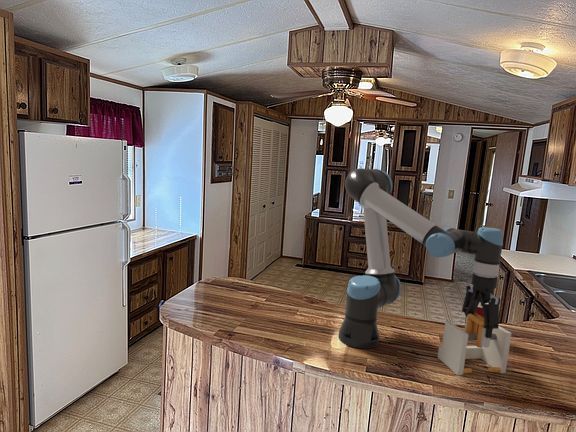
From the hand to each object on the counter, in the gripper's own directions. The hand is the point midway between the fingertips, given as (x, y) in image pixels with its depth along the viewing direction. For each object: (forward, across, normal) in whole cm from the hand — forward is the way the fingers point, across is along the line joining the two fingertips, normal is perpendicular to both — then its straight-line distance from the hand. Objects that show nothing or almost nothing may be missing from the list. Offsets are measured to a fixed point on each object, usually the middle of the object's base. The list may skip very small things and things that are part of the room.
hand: (476, 340), depth 134 cm
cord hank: (+1, 0, 0) cm, 1 cm away
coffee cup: (+10, +22, -18) cm, 30 cm away
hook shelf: (+9, 0, 0) cm, 9 cm away
